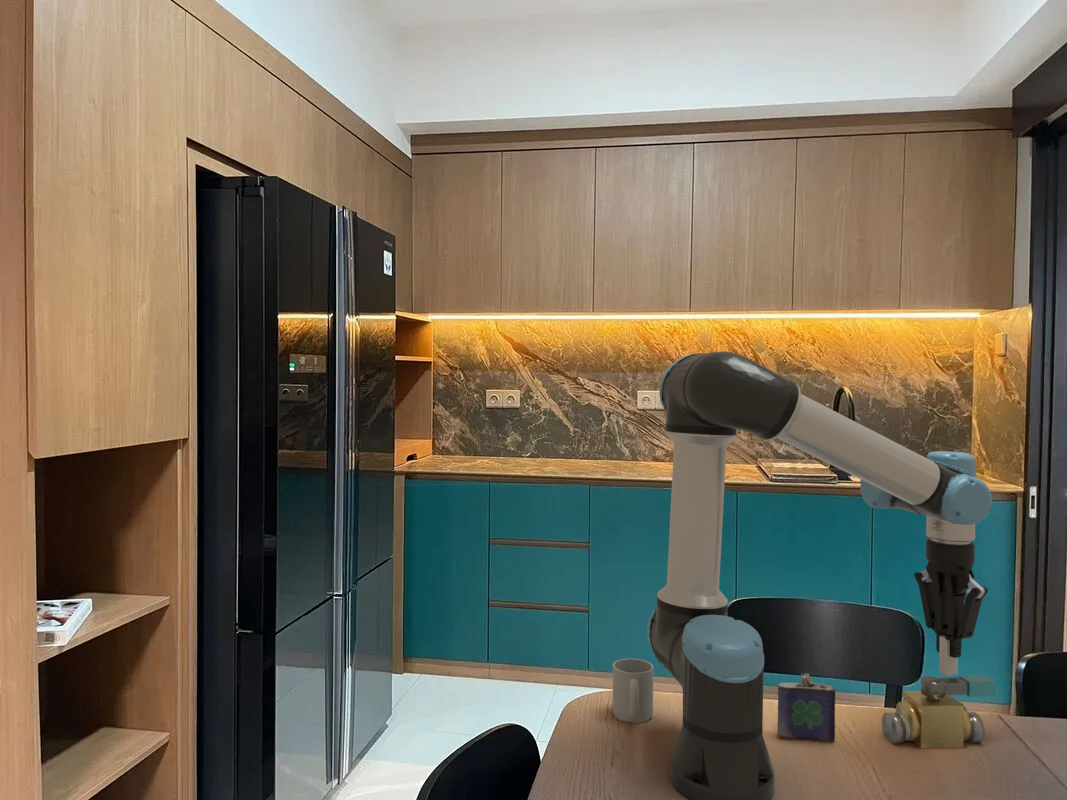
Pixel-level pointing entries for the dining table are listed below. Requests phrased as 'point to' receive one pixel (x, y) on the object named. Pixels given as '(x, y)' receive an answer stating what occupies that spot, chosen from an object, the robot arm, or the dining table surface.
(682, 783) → the robot arm
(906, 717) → the pipe valve
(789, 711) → the flask
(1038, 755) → the dining table surface
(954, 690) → the lever
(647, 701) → the cup
